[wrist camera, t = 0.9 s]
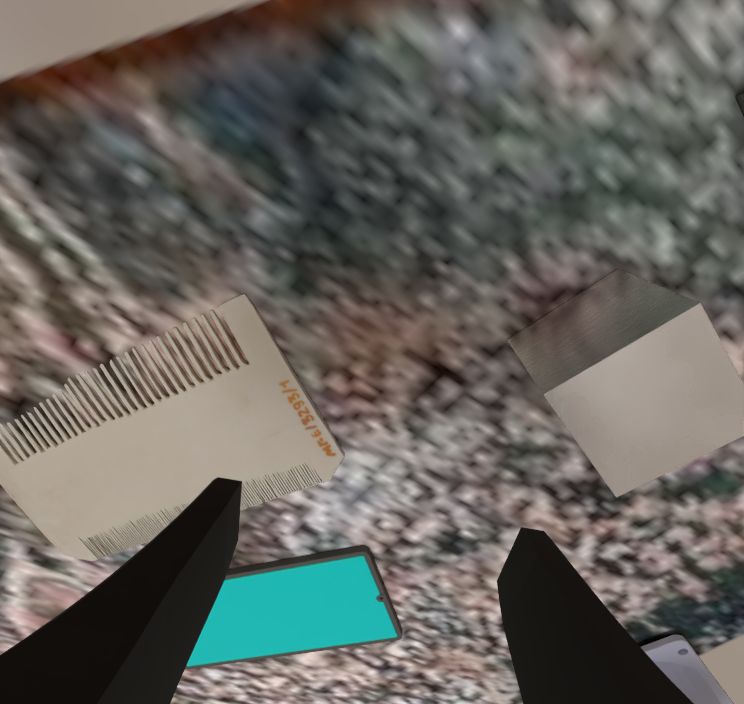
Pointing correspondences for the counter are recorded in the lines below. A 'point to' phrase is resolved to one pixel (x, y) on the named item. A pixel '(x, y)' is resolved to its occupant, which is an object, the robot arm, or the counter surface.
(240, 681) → the counter surface
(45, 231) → the counter surface
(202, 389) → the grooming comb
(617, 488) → the brushed metal cube
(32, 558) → the counter surface
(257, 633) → the smartphone
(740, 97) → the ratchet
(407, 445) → the counter surface
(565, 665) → the robot arm
